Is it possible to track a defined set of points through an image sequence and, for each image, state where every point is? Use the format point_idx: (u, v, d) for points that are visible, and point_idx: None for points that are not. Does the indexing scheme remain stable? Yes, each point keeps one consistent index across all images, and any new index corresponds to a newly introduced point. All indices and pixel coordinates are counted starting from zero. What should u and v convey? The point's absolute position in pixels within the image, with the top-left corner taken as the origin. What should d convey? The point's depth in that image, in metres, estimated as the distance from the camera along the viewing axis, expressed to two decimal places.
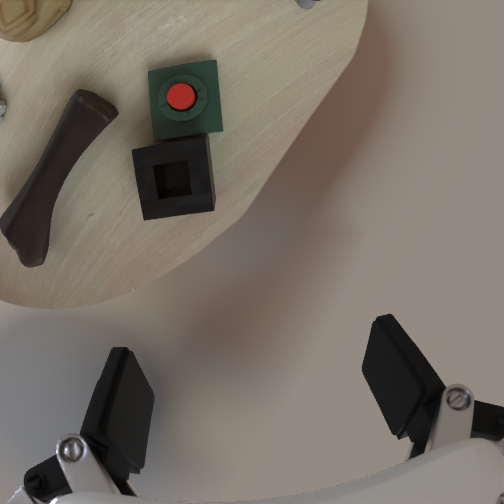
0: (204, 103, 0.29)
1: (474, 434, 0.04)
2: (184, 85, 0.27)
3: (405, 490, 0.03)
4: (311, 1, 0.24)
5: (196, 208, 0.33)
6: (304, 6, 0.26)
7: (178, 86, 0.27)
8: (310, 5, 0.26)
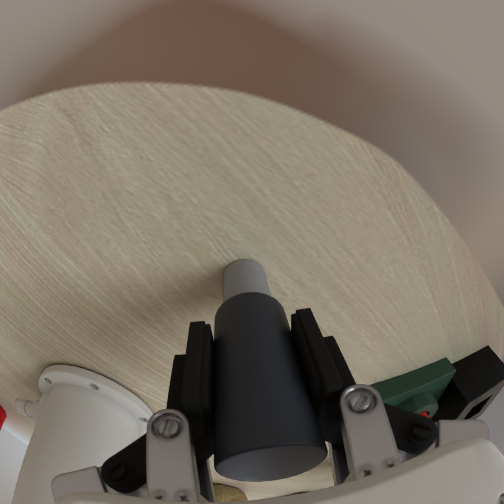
0: (432, 404, 0.19)
1: None
2: None
3: (405, 490, 0.03)
4: None
5: (501, 386, 0.19)
6: None
7: None
8: None
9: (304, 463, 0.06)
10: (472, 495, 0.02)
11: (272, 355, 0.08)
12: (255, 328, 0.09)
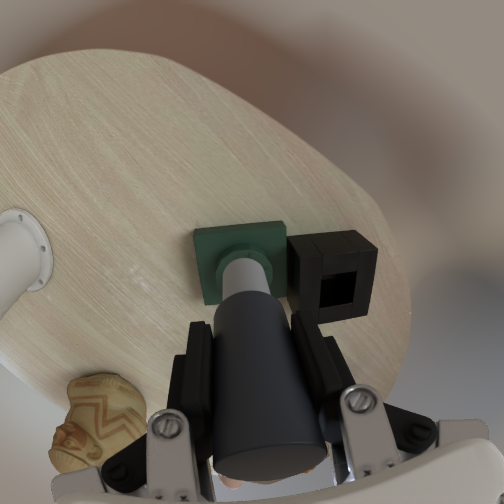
0: (254, 252, 0.29)
1: None
2: None
3: (405, 490, 0.03)
4: None
5: (371, 266, 0.29)
6: None
7: None
8: (267, 284, 0.14)
9: (304, 462, 0.06)
10: (472, 495, 0.02)
11: (271, 353, 0.08)
12: (254, 326, 0.09)
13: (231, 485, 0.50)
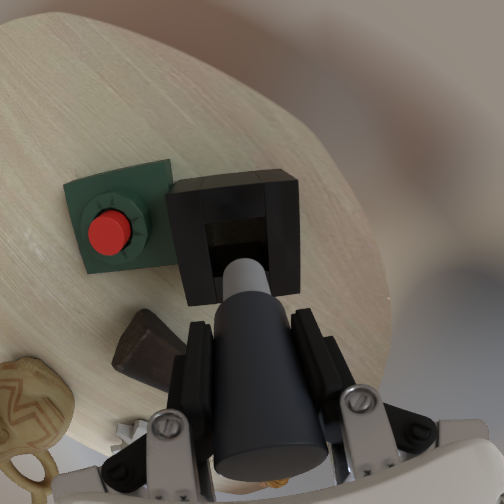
0: (118, 196, 0.19)
1: None
2: (90, 231, 0.19)
3: (405, 490, 0.03)
4: None
5: (290, 210, 0.19)
6: None
7: (92, 240, 0.19)
8: (268, 285, 0.14)
9: (305, 463, 0.06)
10: (472, 495, 0.02)
11: (272, 354, 0.08)
12: (255, 326, 0.09)
13: None
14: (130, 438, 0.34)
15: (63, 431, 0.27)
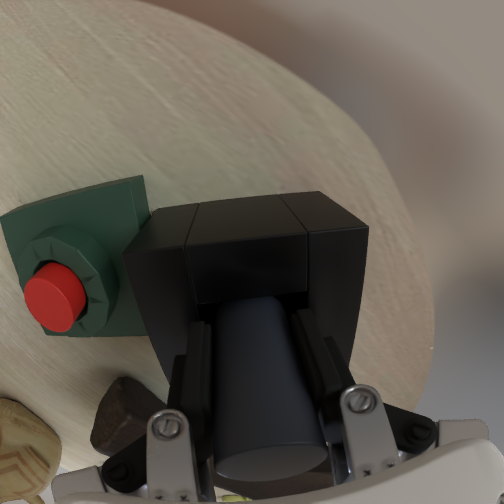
0: (59, 243, 0.11)
1: None
2: (26, 297, 0.10)
3: (405, 490, 0.03)
4: None
5: (350, 279, 0.10)
6: None
7: (32, 309, 0.10)
8: None
9: (304, 463, 0.06)
10: (472, 495, 0.02)
11: (272, 354, 0.08)
12: (255, 326, 0.09)
13: None
14: None
15: (51, 478, 0.19)
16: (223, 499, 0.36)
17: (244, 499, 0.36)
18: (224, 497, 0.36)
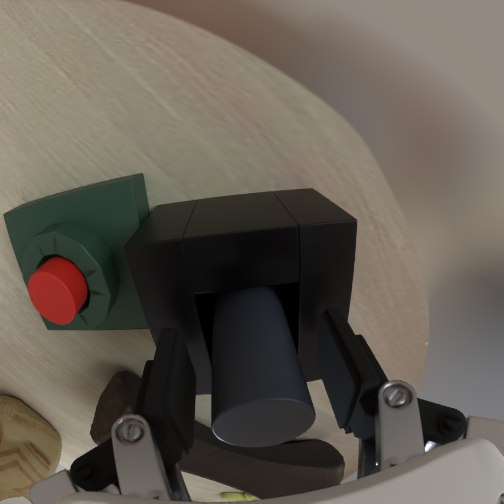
0: (62, 238, 0.11)
1: None
2: (30, 290, 0.11)
3: (405, 490, 0.03)
4: None
5: (340, 270, 0.11)
6: None
7: (35, 302, 0.11)
8: None
9: (294, 425, 0.07)
10: (472, 495, 0.02)
11: (265, 325, 0.09)
12: (250, 303, 0.11)
13: None
14: None
15: (51, 474, 0.19)
16: (222, 496, 0.36)
17: (243, 496, 0.37)
18: (223, 494, 0.37)
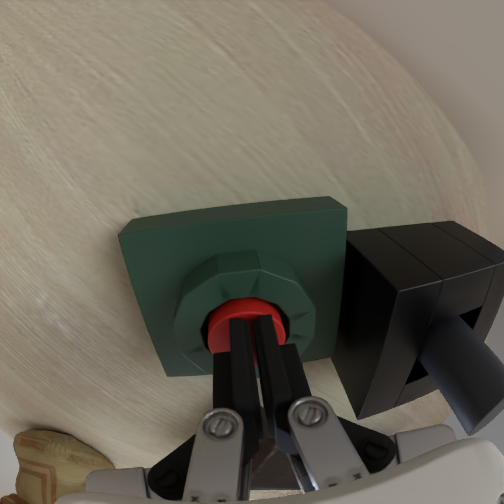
0: (272, 277, 0.10)
1: None
2: (214, 335, 0.11)
3: (405, 490, 0.03)
4: None
5: (500, 294, 0.10)
6: None
7: (217, 348, 0.11)
8: None
9: None
10: (472, 495, 0.02)
11: (481, 342, 0.09)
12: (461, 326, 0.10)
13: None
14: None
15: None
16: None
17: None
18: None
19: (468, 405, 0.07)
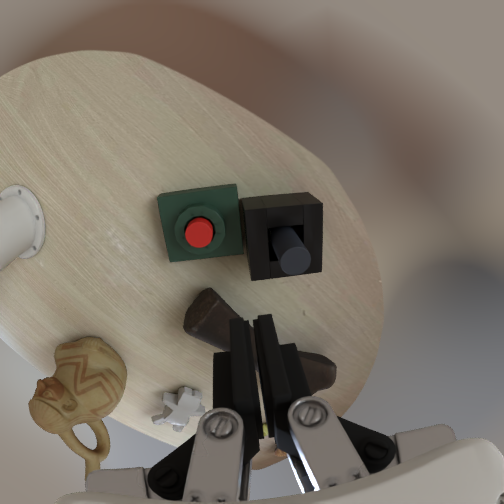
0: (206, 208, 0.32)
1: None
2: (187, 231, 0.31)
3: (405, 490, 0.03)
4: None
5: (317, 221, 0.32)
6: None
7: (188, 237, 0.32)
8: None
9: (304, 262, 0.28)
10: (472, 495, 0.02)
11: (293, 235, 0.30)
12: (287, 231, 0.31)
13: None
14: (175, 404, 0.47)
15: (119, 400, 0.40)
16: None
17: None
18: None
19: (279, 255, 0.28)
